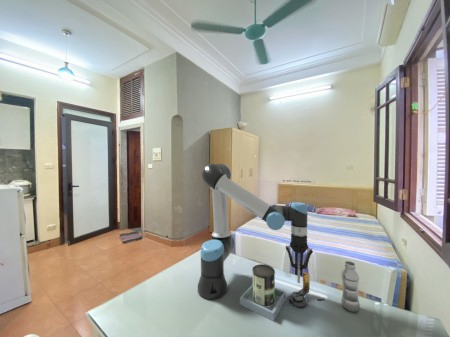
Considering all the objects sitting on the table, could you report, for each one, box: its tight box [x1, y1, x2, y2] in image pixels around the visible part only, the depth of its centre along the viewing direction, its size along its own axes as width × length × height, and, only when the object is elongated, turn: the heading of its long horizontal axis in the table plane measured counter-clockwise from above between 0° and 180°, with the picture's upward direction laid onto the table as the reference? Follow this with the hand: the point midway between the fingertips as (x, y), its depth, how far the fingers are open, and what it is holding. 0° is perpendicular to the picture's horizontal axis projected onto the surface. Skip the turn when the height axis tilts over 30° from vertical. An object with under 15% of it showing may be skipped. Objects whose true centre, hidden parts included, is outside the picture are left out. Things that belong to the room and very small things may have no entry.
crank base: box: [288, 293, 308, 309], centre depth 87 cm, size 8×8×1 cm
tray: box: [239, 283, 287, 322], centre depth 87 cm, size 16×16×3 cm
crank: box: [291, 271, 311, 302], centre depth 89 cm, size 12×5×8 cm, turn 129°
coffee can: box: [251, 263, 276, 308], centre depth 87 cm, size 10×10×14 cm
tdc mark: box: [316, 297, 326, 301], centre depth 88 cm, size 4×1×1 cm, turn 96°
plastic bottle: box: [340, 260, 360, 313], centre depth 82 cm, size 6×7×20 cm
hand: (298, 281), depth 93 cm, fingers closed
